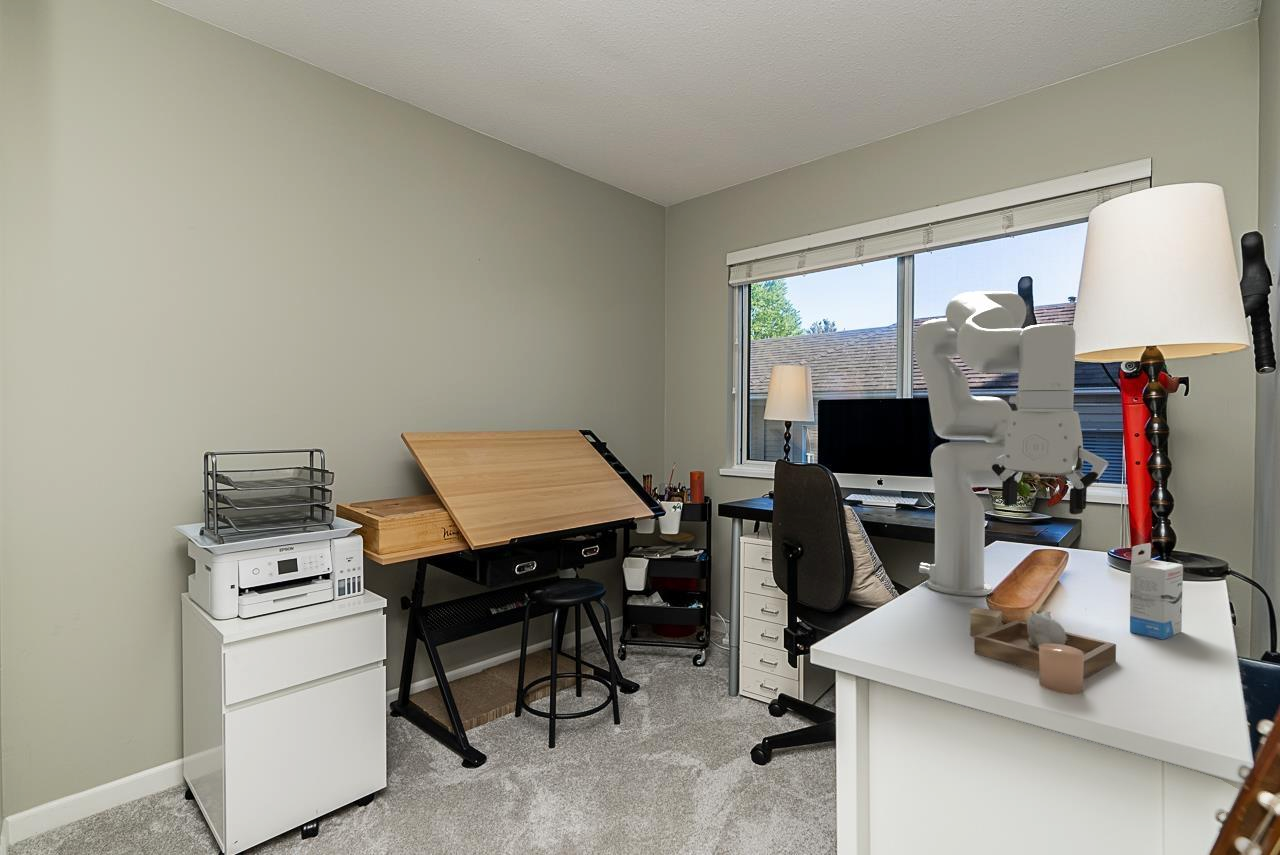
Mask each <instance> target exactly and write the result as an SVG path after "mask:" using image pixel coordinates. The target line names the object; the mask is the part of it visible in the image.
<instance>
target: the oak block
mask: <svg viewBox="0 0 1280 855" xmlns="http://www.w3.org/2000/svg"><path fill="white" fill-rule="evenodd" d="M969 615H970V616H969V620H970V621H969V622H970V624H969V630H970V631H969V637H974V638H975V636H976V635H979V634H981V633H984V632H987V631H989V630H992V629H994V628H997V627H1000V626H1002V625H1003V612H1002V611H1000V610H999V611H998V610H994V609H987V608H982V607H981V608H980V607H975V608H973V609H972V610H971V611H970V614H969Z"/></svg>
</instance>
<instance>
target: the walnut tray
mask: <svg viewBox="0 0 1280 855" xmlns="http://www.w3.org/2000/svg"><path fill="white" fill-rule="evenodd" d="M1065 634H1066V637H1068V638H1066V639H1069V640H1066V642H1065V644H1064V645H1067V646H1071V647H1074V648H1077V649H1079V650H1081V651H1082V652H1083V653H1084V666H1083V681H1085V680H1086V679H1088V678H1090V677H1092V676H1093V675H1095V674H1096V673H1098V672H1100V671H1102V670H1103V669H1105V668H1107V667H1108V666H1110V665H1112V664H1114V663H1115V662H1116V661H1117V644H1116V643H1113V642H1110V641H1109V642H1108V641H1107V640H1106V641H1104V640H1101V639H1097V638H1093V637H1088V636H1084V635H1080V634H1077V633H1076V634H1075V633H1072V632H1067V631H1065ZM1028 638H1029V634H1028V630H1027V621H1021V620H1017V619H1016V620H1013V621H1011V622H1008V623H1005V624H1002V626H1000V627H997V628H994V629H992V630H989V631H987V632H984V633H981V634H979V635H976V636H975V637H974V639H973V640H974V650H973V651H974V654H978V655H979V656H984V657H986V658H987V657H988V658H990V659H994V660H998V661H1002V662H1004V663H1008V664H1011V665H1014V666H1018V667H1020V668H1021V667H1022V668H1023V669H1024V668H1025V669H1029V670H1032V671H1035V672H1038V673H1039V647H1033V646H1031V645H1029V643H1028Z"/></svg>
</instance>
